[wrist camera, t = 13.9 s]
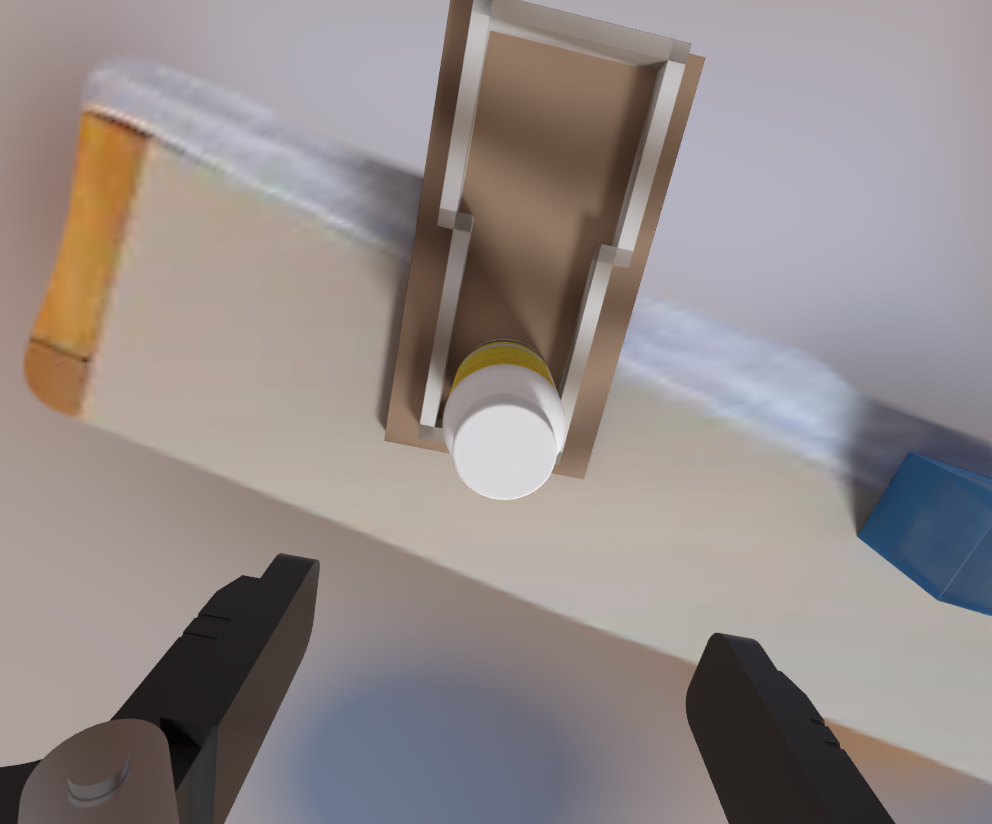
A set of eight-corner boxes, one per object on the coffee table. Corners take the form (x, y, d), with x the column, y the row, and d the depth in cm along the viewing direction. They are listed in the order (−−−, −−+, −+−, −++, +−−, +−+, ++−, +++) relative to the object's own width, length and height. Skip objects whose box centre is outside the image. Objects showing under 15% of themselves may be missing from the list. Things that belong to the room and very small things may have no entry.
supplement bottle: (439, 358, 28) (410, 413, 18) (531, 322, 27) (549, 360, 18) (475, 443, 29) (466, 534, 20) (563, 411, 29) (596, 489, 19)
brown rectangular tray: (453, 4, 23) (448, -24, 21) (697, 65, 24) (719, 44, 22) (387, 434, 30) (378, 450, 28) (580, 472, 31) (587, 490, 28)
